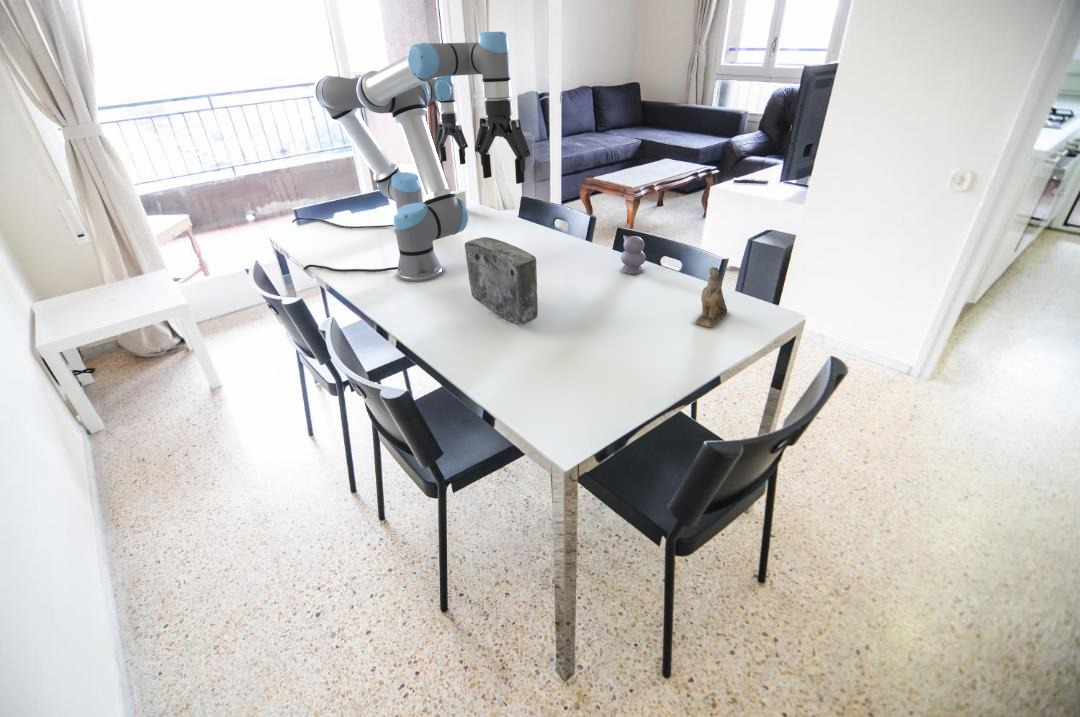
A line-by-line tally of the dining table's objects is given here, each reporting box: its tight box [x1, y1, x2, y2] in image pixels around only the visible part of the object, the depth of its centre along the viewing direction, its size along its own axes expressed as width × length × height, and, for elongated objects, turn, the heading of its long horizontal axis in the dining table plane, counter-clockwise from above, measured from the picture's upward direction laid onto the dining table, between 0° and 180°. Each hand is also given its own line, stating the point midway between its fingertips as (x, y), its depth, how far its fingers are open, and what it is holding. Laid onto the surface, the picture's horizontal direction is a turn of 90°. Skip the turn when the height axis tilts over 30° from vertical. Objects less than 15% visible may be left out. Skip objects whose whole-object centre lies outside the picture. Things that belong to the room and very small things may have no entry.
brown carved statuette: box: [695, 266, 728, 328], centre depth 135 cm, size 12×6×18 cm, turn 136°
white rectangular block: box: [453, 189, 468, 208], centre depth 245 cm, size 5×6×9 cm
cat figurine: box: [620, 234, 646, 275], centre depth 168 cm, size 9×8×12 cm
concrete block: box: [464, 236, 539, 326], centre depth 141 cm, size 27×9×20 cm, turn 36°
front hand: (503, 180), depth 147 cm, fingers open, 13 cm apart
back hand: (453, 162), depth 235 cm, fingers open, 13 cm apart
